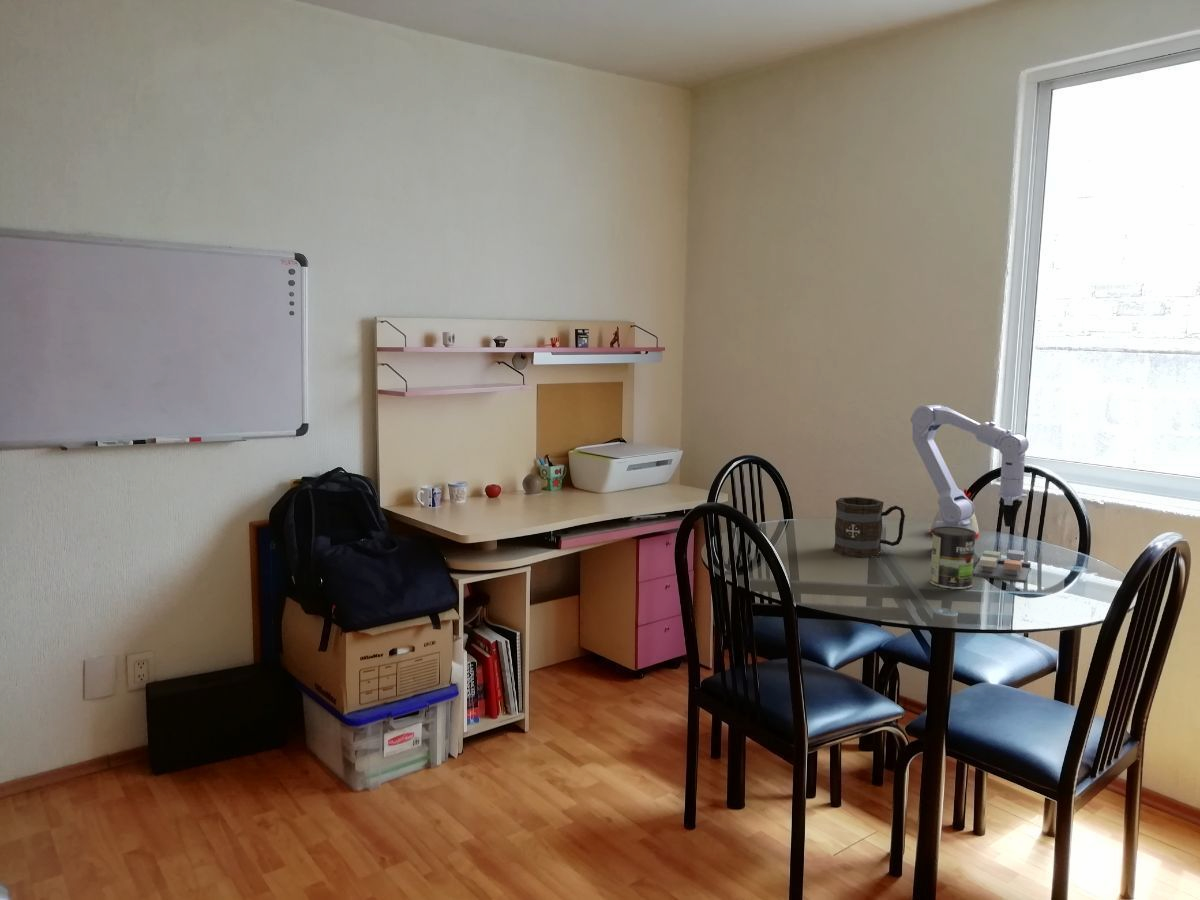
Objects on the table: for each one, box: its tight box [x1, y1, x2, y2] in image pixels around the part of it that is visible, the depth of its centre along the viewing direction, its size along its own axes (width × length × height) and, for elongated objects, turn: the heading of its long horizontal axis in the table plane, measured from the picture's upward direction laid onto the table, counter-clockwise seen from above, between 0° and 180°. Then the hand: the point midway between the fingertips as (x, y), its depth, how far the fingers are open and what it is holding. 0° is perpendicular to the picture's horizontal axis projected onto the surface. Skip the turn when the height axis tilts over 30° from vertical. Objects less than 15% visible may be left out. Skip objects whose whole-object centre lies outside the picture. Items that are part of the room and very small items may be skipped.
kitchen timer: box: [930, 487, 980, 540], centre depth 282 cm, size 14×14×15 cm
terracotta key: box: [1004, 558, 1023, 575], centre depth 239 cm, size 4×4×3 cm
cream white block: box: [982, 550, 1001, 561], centre depth 248 cm, size 4×4×3 cm
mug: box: [833, 496, 906, 559], centre depth 262 cm, size 20×14×15 cm
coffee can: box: [929, 526, 976, 590], centre depth 231 cm, size 10×10×14 cm
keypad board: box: [973, 555, 1031, 583], centre depth 243 cm, size 13×15×2 cm
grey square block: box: [1006, 549, 1026, 562], centre depth 244 cm, size 4×4×3 cm
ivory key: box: [978, 555, 998, 572], centre depth 242 cm, size 4×4×3 cm
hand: (1009, 526), depth 251 cm, fingers closed
